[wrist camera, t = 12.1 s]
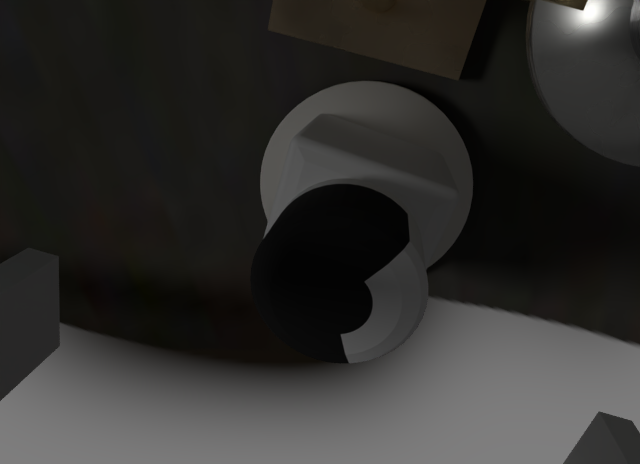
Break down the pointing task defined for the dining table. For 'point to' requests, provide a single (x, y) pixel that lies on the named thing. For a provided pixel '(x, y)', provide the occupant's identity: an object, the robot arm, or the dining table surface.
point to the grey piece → (351, 241)
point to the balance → (541, 47)
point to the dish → (385, 117)
